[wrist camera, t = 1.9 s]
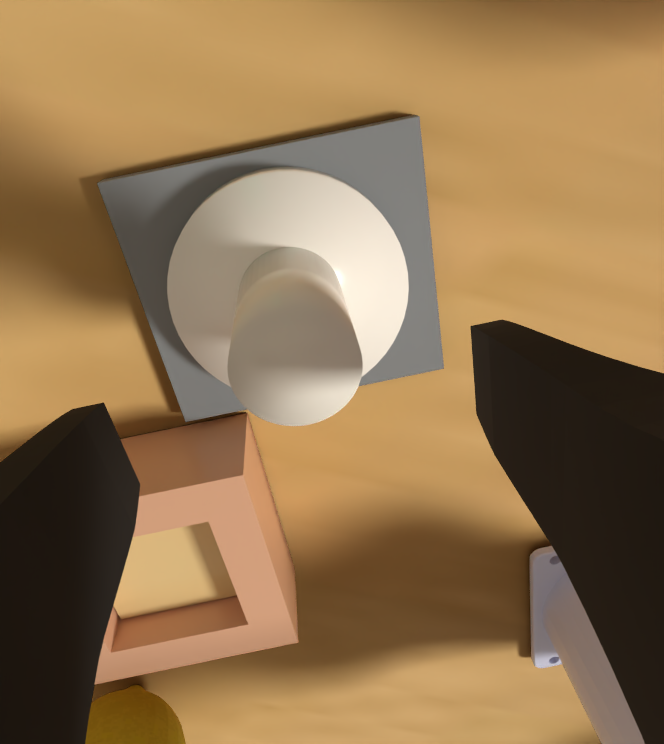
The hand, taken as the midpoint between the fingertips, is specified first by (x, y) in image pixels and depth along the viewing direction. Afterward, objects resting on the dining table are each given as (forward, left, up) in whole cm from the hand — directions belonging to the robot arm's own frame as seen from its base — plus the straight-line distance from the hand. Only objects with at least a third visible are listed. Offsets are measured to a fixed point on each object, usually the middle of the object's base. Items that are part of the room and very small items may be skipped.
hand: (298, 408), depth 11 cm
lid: (0, 0, -7) cm, 7 cm away
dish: (+6, +9, -8) cm, 13 cm away
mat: (0, 0, -8) cm, 8 cm away
